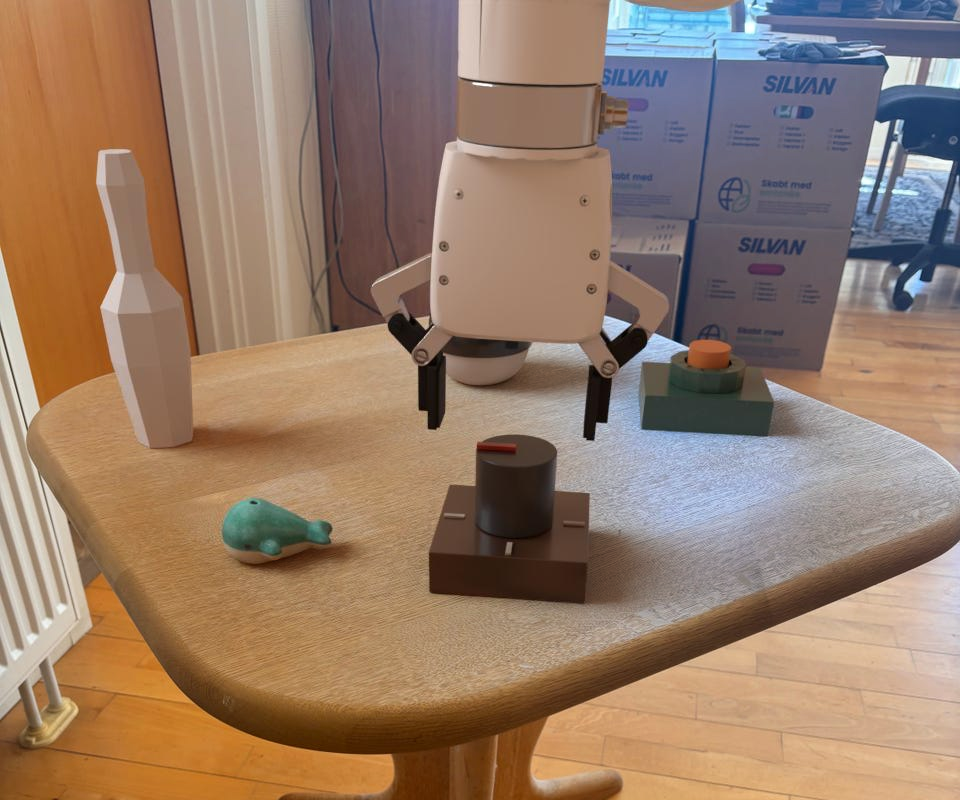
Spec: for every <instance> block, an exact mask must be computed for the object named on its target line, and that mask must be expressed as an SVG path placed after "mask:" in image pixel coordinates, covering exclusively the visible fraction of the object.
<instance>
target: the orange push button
mask: <svg viewBox="0 0 960 800" xmlns="http://www.w3.org/2000/svg"><path fill="white" fill-rule="evenodd" d="M688 350H689V353H688V360H687V364H689V365H691V366H694V367H698V368H702V369H723V368H728V364H729V358H730V354H731V351H732V347H731V345H730V344H728V343H727V342H724V341H720V340H716V339H715V340H714V339H698V340H693V341H692V342H690V343H689V346H688Z"/></svg>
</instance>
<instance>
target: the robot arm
mask: <svg viewBox="0 0 960 800" xmlns="http://www.w3.org/2000/svg"><path fill="white" fill-rule="evenodd" d="M624 1H626V2H627V3H630V4H633V5H637V6H642V7H648V8H659V9H666V10H670V11H675V12H684V13H685V12H686V13H688V12H689V13H704V12H712V11H717V10H721V9H724V8H727V7H729V6H732V5H735V4H736V3H738V2H741V0H624ZM610 4H611V0H458V26H457V27H458V29H457V30H458V31H457V33H458V34H457V52H458V59H457V76H458V77H457V101H456V105H457V106H456V108H457V109H456V112H457V113H456V140H454V141H450V142H447V143H446V144H445V147H444V151H443V156H442V162H441V167H440V172H439V177H438V184H437V193H436V201H435V211H434V221H433V230H432V231H433V234H432V247H431V248H432V249H431V252H429V253H427V254H424V255H423V256H421V257H419V258H416V259H414V260H412V261H410V262H408V263H406V264H404V265H402V266H400V267H398V268H396V269H394V270H392V271H390V272H388V273H385V274H384V275H382V276H379V277H378V278H377V279H375V280H374V282H373V284H372V285H371V286H370V294H371V296H372V299H373V300H374V302H375V304H376V307H377V308H378V310H379V312H380V314H381V316H382V318H384V320H385V322H386V324H387V329H388V332H389V333H390V334H391V335H392V337H394V339H396V341H398V343H399V345H401V346H402V347H403V348H404V349H405V350H406V351H407V352H408V353H409V354H410V355H411V360H412V362H413V364H415V365H416V366H417V407H418V408H417V409H418V411H419V412H427V415H426V416H427V419H426V421H427V424H426V425H427V430H430V431H437V429H440V428H441V425H442V423H443V420H444V417H445V415H446V406H447V404H446V400H447V399H446V398H447V397H446V396H447V395H446V394H447V392H446V391H447V389H446V388H447V374H446V356H443V352H442V351H441V349H442V348H443V347H444V346H445V345H446V344H447V342H448V341H449V340H450V339H451V338H452V337H453V336H458V337H466V338H478V339H492V340H507V341H524V342H533V343H541V344H542V343H544V344H559V345H560V344H564V345H570V344H571V345H574V344H578V346H579V347H580V348H581V350H582V351H583V352H584V354H585V355H586V357H587V358H588V360H589V361H590V362H591V364H588V371H587V372H588V374H587V385H586V395H585V406H584V415H583V428H582V429H583V430H582V431H583V432H582V438H583V439H585V441H587V442H588V441H589V442H595V439H596V429H597V424H608V422H609V412H610V403H611V394H612V385H613V378H614V377H615V376H616V375H617V374H618V373H619V370H621V368H622V367H624V366H625V365H626V364H627V363H628V362H630V361H631V360H632V359H633V358H635V357H636V356H638V355H639V353H641V352H642V351H643V350H644V349H646V347H647V345H648V342H649V340H650V339H651V338H652V336H653V335H654V334H655V333H656V331H657V329H658V328H659V326H660V325H661V324H662V322H663V320H664V319H665V318H666V317H667V314H668V313H669V311H670V302H669V297H668V296H667V295H666V294H665V293H663V292H661V290H658V289H657V288H655V287H654V286H652V285H650V284H649V283H647V282H646V281H644V280H642V279H640V278H639V277H638V276H636V275H634V274H632V273H631V272H629V271H628V270H626V269H625V268H623V267H622V266H620V265H618V264H617V263H615V262H614V261H612V260H611V255H612V254H611V251H612V232H613V172H612V161H611V153H610V150H609V149H607V148H603V147H599V146H598V135H601V136H602V135H603V136H604V133H605V131H612V130H613V128H617V129H626V128H627V123H628V112H629V102H630V101H629V99H619V98H615V95H608V91H605V90H603V81H604V72H605V71H604V70H605V58H606V47H607V35H608V27H609V26H608V25H609V14H610ZM602 90H603V91H602ZM428 282H430V285H429V286H430V287H429V290H430V291H429V306H430V309H431V317H432V321H433V322H432V323H431V324H430V326H429V325H428V326H429V327H426V328H425V327H424V326H423V325H422V324H421V323H420V322H419V321H418V320H417V319H416V317H414V315H413V314H412V313H411V312H410V311H409V310H408V309H407V307H406V305H405V302H404V300H403V294H406V293H407V292H409V291H412V290H413V289H415V288H418V287H420V286H422V285H424V284H426V283H428ZM609 292H610V293H612V294H613V295H615V296H616V297H618V298H619V299H621V300H623V301H624V302H626V303H628V304H629V305H631V306H632V307H634V308H635V309H636V310H638V312H637V314H636V316H635V317H634V319H633V321H632V322H631V324H630V325H629V326H627V327H626V328H625V329H624V330H622V332H620V333H619V334H618V335H617V336H616V337H615V338H613V339H611V338H610V336H609V334H608V333H607V332H606V330H605V329H604V327H603V325H604V322H605V321H604V320H605V316H606V309H607V304H608V303H607V301H608V293H609Z"/></svg>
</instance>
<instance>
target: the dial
mask: <svg viewBox="0 0 960 800" xmlns="http://www.w3.org/2000/svg"><path fill="white" fill-rule="evenodd" d="M557 465H558V450H557V447H556V446H555V445H554V444H553V443H552V442H550V441H549V440H546V439H544V438H541V437H538V436H535V435H527V434H502V435H501V434H499V435H495V436H491V437H488V438H486V439H483V440H482V441H477V442H476V447H475V480H474V481H475V482H474V483H475V484H474V486H475V521H476V523H477V525H478V526H479V527H480V528H481V529H482V530H484V531H486V532H487V533H490V534H493V535H496V536H500V537H506V538H526V537H532V536H536V535H539V534H541V533H544V532H545V531H547V530H548V529H549V528H550V527H551V525H552V523H553V512H554V497H555V491H556V483H557V482H556V480H557V467H558V466H557Z"/></svg>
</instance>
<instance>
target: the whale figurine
mask: <svg viewBox="0 0 960 800" xmlns="http://www.w3.org/2000/svg"><path fill="white" fill-rule="evenodd" d="M332 532H333V526H332V524H331V523H330V522H328V521H326V520H321V519H316V520H313V521H310V520H307V519H305V518H303V517H302V516H300V515H298V514H296V513H294V512H292V511H290V510H288V509H286V508H284V507H281V506H279V505H277V504H274V503H272V502H271V501H269V500H265V499H263V498H259V497H249V498H245V499H243V500H240V501H238V502H237V503H235V504H234V505H232V507H231V508H229V510H228V511H227V513H226V514H225V516H224V518H223V521H222V525H221V536H222V543H223V546H224V548H225V550H226V552H227V553H228V555H230V556H231V557H232V558H233V559H235V560H237V561H239V562H242V563H246V564H253V565H256V564H264V563H268V562H271V561H272V562H273V561H277V560H280V559H284V558H287V557H290V556H293V555H296V554H299V553H301V552H304V551H305V550H308V549H310V548H314V549H318V550H324V549H327V548H329V547H330V546H331V545H332V540H331V537H330V535H331V534H332Z"/></svg>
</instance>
